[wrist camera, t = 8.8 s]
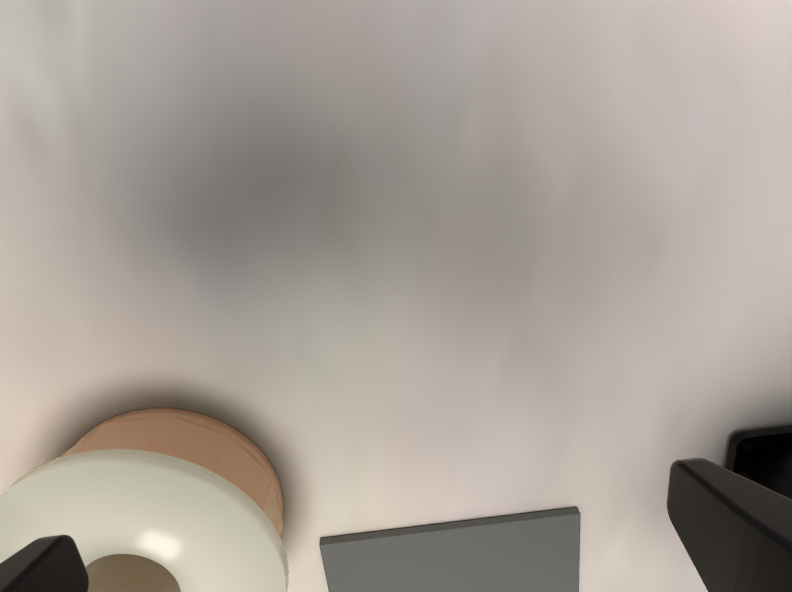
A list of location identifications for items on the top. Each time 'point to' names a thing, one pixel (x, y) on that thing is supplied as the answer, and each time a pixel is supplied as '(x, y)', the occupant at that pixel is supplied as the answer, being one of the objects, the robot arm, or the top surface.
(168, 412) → the bowl
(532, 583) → the mat
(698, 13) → the top surface
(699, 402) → the top surface
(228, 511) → the lid
